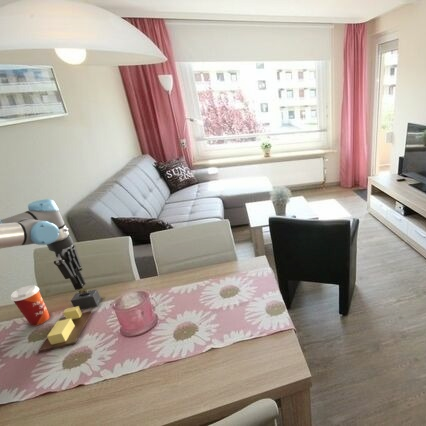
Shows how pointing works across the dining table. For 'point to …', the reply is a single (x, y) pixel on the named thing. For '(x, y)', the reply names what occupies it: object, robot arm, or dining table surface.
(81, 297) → the dark grey block
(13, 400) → the dining table surface
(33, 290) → the coffee cup
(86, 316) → the butter board
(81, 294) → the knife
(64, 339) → the butter stick
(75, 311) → the butter pat
